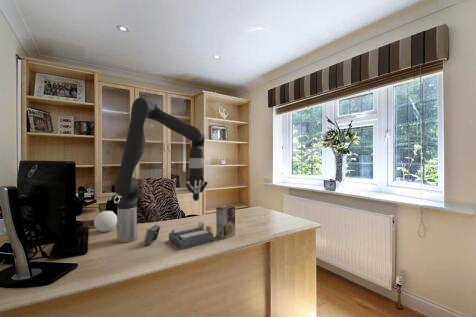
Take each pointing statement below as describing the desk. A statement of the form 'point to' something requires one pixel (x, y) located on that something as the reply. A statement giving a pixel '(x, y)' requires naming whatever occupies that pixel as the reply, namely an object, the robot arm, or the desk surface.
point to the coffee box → (225, 221)
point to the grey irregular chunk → (151, 234)
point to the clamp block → (191, 238)
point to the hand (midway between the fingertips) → (196, 200)
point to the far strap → (187, 229)
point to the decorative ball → (105, 221)
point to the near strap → (194, 234)
